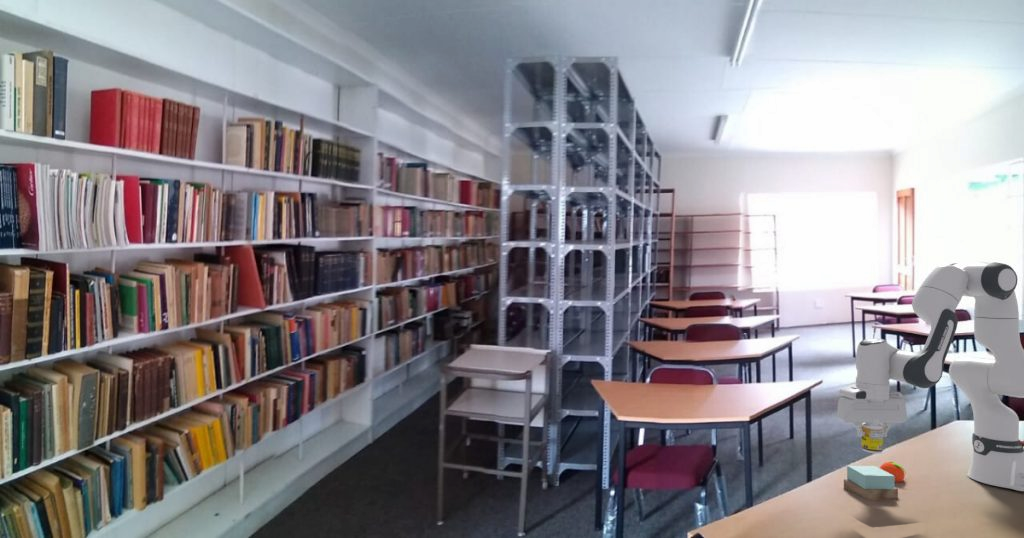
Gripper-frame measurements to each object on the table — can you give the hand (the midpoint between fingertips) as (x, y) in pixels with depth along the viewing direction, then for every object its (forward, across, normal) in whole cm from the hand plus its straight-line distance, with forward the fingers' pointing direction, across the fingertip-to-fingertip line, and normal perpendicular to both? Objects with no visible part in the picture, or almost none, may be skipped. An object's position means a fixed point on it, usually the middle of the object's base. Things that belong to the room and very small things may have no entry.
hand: (872, 436), depth 175 cm
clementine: (+18, -14, -10) cm, 25 cm away
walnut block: (+19, 0, 0) cm, 19 cm away
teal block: (+15, 0, 0) cm, 15 cm away
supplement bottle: (+5, 0, 0) cm, 5 cm away
